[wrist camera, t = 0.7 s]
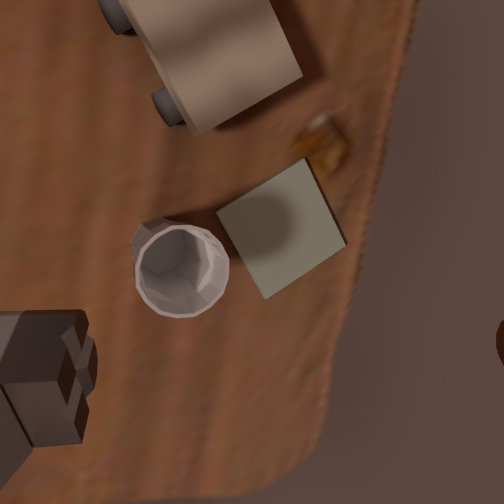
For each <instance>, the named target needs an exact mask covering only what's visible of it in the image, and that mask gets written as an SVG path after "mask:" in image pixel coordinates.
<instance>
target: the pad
mask: <svg viewBox="0 0 504 504" xmlns="http://www.w3.org/2000/svg"><path fill="white" fill-rule="evenodd" d="M215 213H216V215H217V217H218V218H219V220H220V222H221V224H222V225H223V227H224V229H225V231H226V233H227V234H228V236H229V238H230V240H231V241H232V243H233V245H234V247H235V248H236V250H237V252H238V254H239V255H240V257H241V259H242V261H243V263H244V264H245V266H246V268H247V270H248V271H249V273H250V275H251V277H252V278H253V280H254V282H255V284H256V286H257V287H258V289H259V291H260V293H261V294H262V296H263V298H264V299H268V298H269V297H271V296H272V295H273V294H275V293H276V292H278V291H279V290H281V289H282V288H284V287H285V286H287V285H288V284H290V283H291V282H293V281H294V280H296V279H297V278H299V277H300V276H302V275H303V274H305V273H306V272H308V271H309V270H311V269H312V268H313V267H315V266H316V265H318V264H319V263H321V262H322V261H324V260H325V259H327V258H328V257H330V256H331V255H333V254H334V253H336V252H337V251H339V250H340V249H342V248H343V247H345V246H346V245H345V243H344V241H343V238H342V236H341V234H340V232H339V230H338V228H337V226H336V224H335V222H334V220H333V218H332V215H331V213H330V211H329V209H328V207H327V205H326V203H325V201H324V199H323V197H322V194H321V192H320V190H319V188H318V186H317V184H316V182H315V180H314V178H313V176H312V173H311V171H310V169H309V167H308V165H307V163H306V161H305V159H304V158H302V159H300V160H298V161H297V162H295V163H293V164H292V165H290V166H289V167H287V168H285V169H284V170H282V171H280V172H279V173H277V174H276V175H274V176H272V177H271V178H269V179H267V180H266V181H264V182H263V183H261V184H259V185H258V186H256V187H254V188H253V189H251V190H250V191H248V192H246V193H245V194H243V195H241V196H240V197H238V198H237V199H235V200H233V201H232V202H230V203H228V204H227V205H225V206H224V207H222V208H220V209H219V210H217V211H215Z"/></svg>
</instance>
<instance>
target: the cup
mask: <svg viewBox="0 0 504 504" xmlns="http://www.w3.org/2000/svg"><path fill="white" fill-rule="evenodd" d="M129 244H130V248H131V251H132V255H133V278H134V282H135V286H136V288H137V290H138V291H139V293H140V295H141V296H142V298H143V300H144V301H145V303H146V304H147V305H149V306H150V307H151V308H152V309H153V310H155V311H156V312H157V313H158V314H160V315H164V316H169V317H174V318H185V317H195V316H197V315H199V314H200V313H202V312H204V311H205V310H207V309H209V308H210V307H212V306H213V305H214V303H215V302H216V301H217V300H218V299H219V298H220V297H221V296H222V295H223V294H224V291H225V288H226V284H227V281H228V278H229V257H228V255H227V253H226V251H225V249H224V247H223V246H222V244H221V242H220V241H219V240H218V239H217V238H216V237H215V236H214V235H213V234H212V233H211V232H210V231H209V230H206V229H203V228H200V227H197V226H194V225H190V224H187V223H184V222H174V221H171V220H168V219H165V218H163V217H162V218H158V219H155V220H151V221H147V222H143V223H141V224H140V225H139V227H138V229H137V230H136V232H135V234H134V235H133V237H132V239H131V241H130V242H129Z"/></svg>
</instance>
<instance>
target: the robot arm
mask: <svg viewBox="0 0 504 504" xmlns="http://www.w3.org/2000/svg"><path fill="white" fill-rule="evenodd" d="M88 326H89V322H88V319H87V316H86V313H85V311H84V310H81V309H71V310H26V311H0V490H1V489H2V487H3V486H4V485H5V484H6V483H7V481H8V480H9V479H10V478H11V477H12V475H13V474H14V473H15V472H16V471H17V470H18V468H19V467H20V466H21V465H22V464H23V462H24V461H25V460H26V459H27V458H28V456H29V455H30V454H31V453H32V452H33V449H32V448H37V447H49V446H61V445H73V444H82V441H83V437H84V432H85V428H86V424H87V419H88V415H89V411H90V410H89V407H88V404H87V401H86V397H87V396H88V395H89V394H90V393H91V392H92V391H93V390H94V388H95V383H96V378H97V365H98V358H97V349H96V345H95V342H94V339H92V338H91V337H89V336H88V335H87V330H88ZM496 348H497V351H498V355H499V358H500V359H501V361H502V363H503V365H504V320H503V321H501V323H500V325H499V328H498V330H497V333H496Z"/></svg>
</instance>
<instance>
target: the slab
mask: <svg viewBox="0 0 504 504" xmlns="http://www.w3.org/2000/svg"><path fill="white" fill-rule="evenodd" d="M98 3H99V6H100V8H101V11H102V13H103V15H104V17H105V19H106V20H107V22H108V24H109V26H110V27H111V29H112V30H113V31H114V33H115V34H116V35H119V34H121V33H123V32H125V31H127V30H129V29H131V28H134V30H135V31H136V33H137V35H138V37H139V39H140V40H141V42H142V44H143V46H144V48H145V50H146V51H147V53H148V55H149V57H150V59H151V60H152V62H153V64H154V66H155V68H156V70H157V71H158V73H159V75H160V77H161V79H162V80H163V82H164V84H165V87H163V88H162V89H160V90H158V91H156V92H154V93H152V95H151V96H152V100H153V102H154V105H155V107H156V109H157V111H158V112H159V114H160V116H161V117H162V119H163V120H164V122H165V123H166V124H167V125H168V126H169V127H172V126H173V125H175V124H177V123H179V122H181V121H182V120H185V122H186V124H187V126H188V128H189V129H190V131H191V133H192V135H193V137H194V136H199V135H202V134H203V133H205V132H207V131H208V130H210V129H212V128H214V127H215V126H217V125H219V124H221V123H222V122H224V121H226V120H228V119H229V118H231V117H233V116H235V115H236V114H238V113H240V112H242V111H243V110H245V109H247V108H249V107H250V106H252V105H254V104H255V103H257V102H259V101H261V100H262V99H264V98H266V97H268V96H269V95H271V94H273V93H275V92H276V91H278V90H280V89H282V88H283V87H285V86H287V85H289V84H290V83H292V82H294V81H296V80H297V79H299V78H301V77H302V76H303V74H302V72H301V70H300V68H299V66H298V63H297V61H296V59H295V57H294V54H293V52H292V50H291V48H290V46H289V43H288V41H287V39H286V37H285V34H284V32H283V30H282V28H281V26H280V23H279V21H278V19H277V17H276V14H275V12H274V10H273V8H272V6H271V3H270V1H269V0H98Z"/></svg>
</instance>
